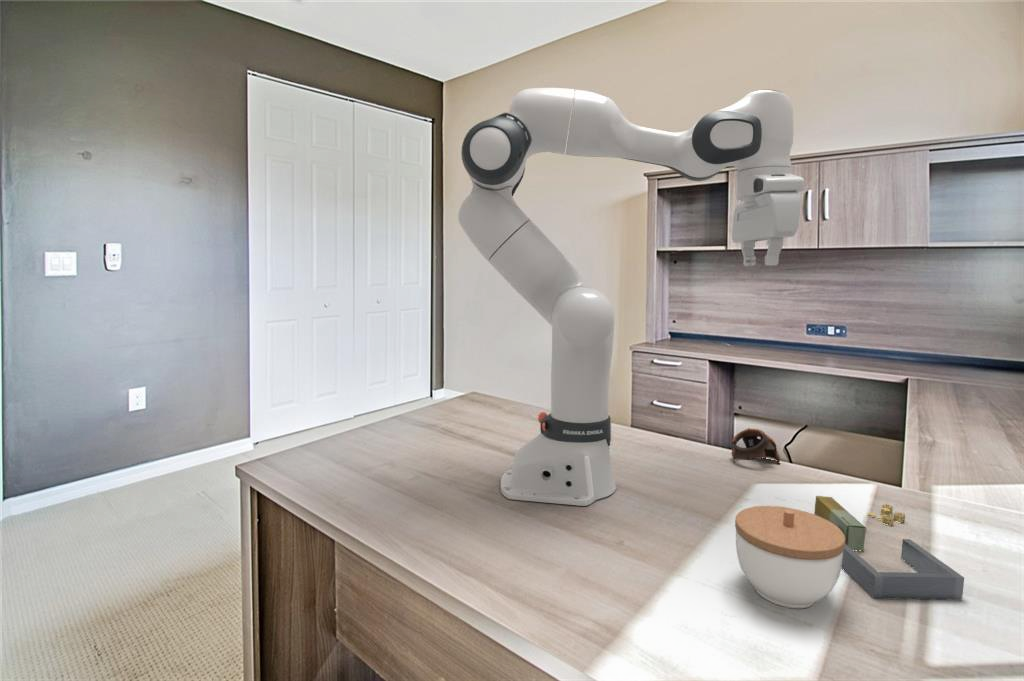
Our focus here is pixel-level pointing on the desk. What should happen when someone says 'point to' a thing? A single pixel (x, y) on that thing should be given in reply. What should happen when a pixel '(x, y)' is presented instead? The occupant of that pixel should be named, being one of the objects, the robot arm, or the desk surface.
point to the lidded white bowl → (788, 554)
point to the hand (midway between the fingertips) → (759, 265)
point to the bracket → (906, 576)
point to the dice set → (886, 517)
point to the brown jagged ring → (754, 445)
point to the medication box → (841, 521)
